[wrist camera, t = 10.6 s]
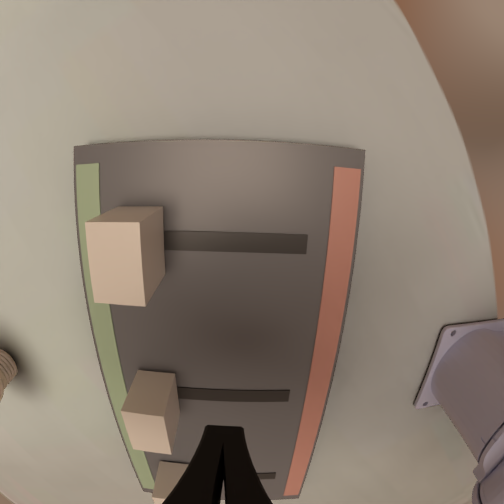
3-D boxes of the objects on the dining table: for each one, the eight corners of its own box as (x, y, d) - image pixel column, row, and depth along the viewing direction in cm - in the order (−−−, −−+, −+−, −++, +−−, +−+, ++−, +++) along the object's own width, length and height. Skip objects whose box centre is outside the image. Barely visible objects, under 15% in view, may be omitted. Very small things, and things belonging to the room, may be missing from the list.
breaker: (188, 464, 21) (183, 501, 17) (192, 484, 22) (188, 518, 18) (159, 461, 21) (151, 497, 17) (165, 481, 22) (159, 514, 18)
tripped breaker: (163, 206, 15) (139, 222, 12) (165, 273, 16) (145, 306, 13) (118, 206, 15) (84, 222, 11) (122, 271, 16) (94, 302, 12)
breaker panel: (355, 150, 16) (365, 150, 15) (296, 486, 25) (298, 498, 23) (86, 146, 16) (73, 146, 14) (146, 480, 24) (143, 492, 23)
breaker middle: (175, 373, 18) (163, 416, 14) (180, 412, 19) (171, 454, 15) (137, 369, 18) (120, 410, 14) (145, 408, 19) (133, 449, 15)
